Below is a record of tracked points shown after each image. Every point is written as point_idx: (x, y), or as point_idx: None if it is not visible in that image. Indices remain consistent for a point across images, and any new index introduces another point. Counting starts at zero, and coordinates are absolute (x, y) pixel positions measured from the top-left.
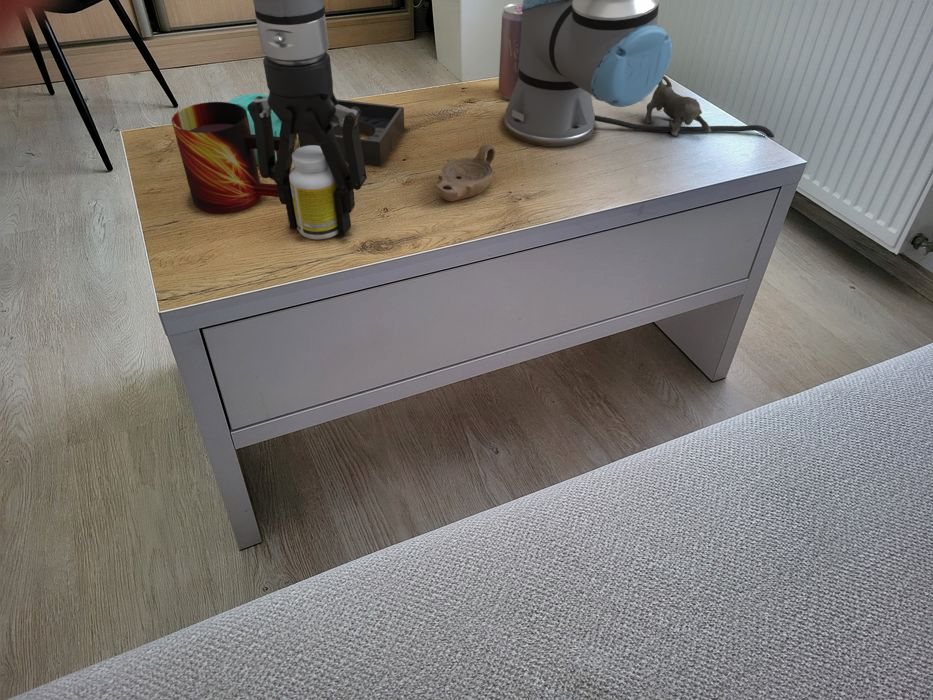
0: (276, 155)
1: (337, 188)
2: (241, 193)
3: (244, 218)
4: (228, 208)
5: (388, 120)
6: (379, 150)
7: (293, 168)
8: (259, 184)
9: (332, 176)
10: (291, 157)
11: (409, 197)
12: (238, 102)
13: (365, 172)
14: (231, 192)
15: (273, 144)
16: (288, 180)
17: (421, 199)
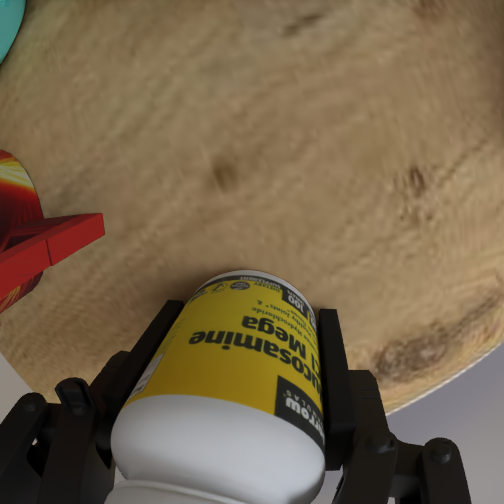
0: (6, 34)
1: (326, 453)
2: (14, 289)
3: (61, 301)
4: (24, 295)
5: None
6: None
7: (124, 477)
8: (17, 238)
9: (311, 501)
10: (88, 487)
11: (462, 92)
12: None
13: (460, 472)
14: (4, 306)
15: (2, 480)
16: (114, 419)
17: (493, 103)
